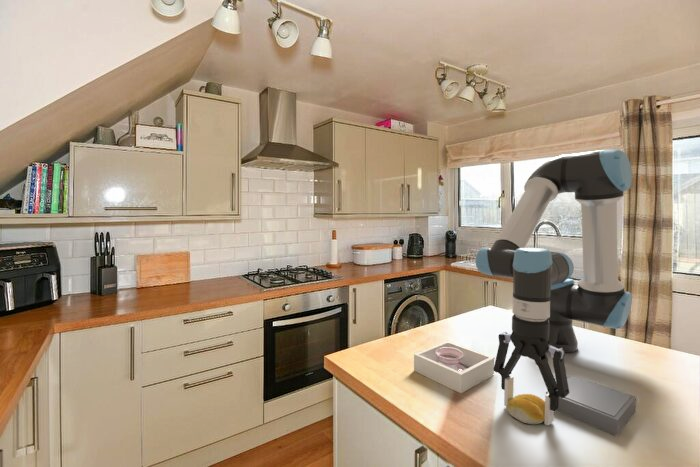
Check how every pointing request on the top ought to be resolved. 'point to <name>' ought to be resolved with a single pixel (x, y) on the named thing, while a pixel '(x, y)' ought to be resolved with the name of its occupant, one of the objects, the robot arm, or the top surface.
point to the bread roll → (527, 408)
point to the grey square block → (597, 405)
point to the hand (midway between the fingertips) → (527, 412)
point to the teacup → (450, 357)
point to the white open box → (456, 380)
